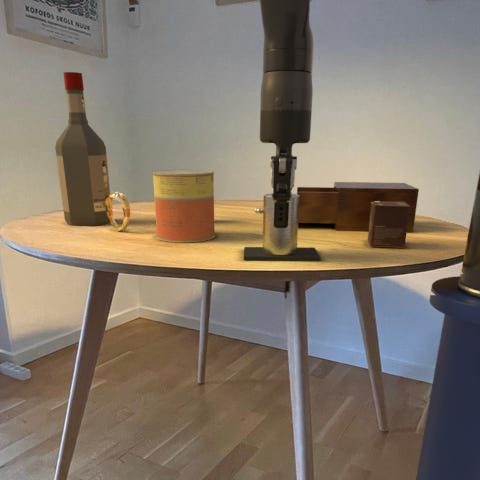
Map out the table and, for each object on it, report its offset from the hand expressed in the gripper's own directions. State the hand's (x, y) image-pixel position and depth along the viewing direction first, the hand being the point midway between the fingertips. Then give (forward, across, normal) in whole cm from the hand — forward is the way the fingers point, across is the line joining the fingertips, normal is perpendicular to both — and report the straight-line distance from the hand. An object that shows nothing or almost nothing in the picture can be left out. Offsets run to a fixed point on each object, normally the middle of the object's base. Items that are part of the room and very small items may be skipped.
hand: (281, 223), depth 75 cm
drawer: (+4, +31, -5) cm, 31 cm away
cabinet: (+5, +31, -18) cm, 36 cm away
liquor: (+5, +26, +44) cm, 52 cm away
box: (+5, +11, -19) cm, 22 cm away
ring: (+5, +17, +34) cm, 38 cm away
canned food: (+5, +13, +19) cm, 24 cm away
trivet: (+5, 0, 0) cm, 5 cm away
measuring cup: (+4, 0, 0) cm, 4 cm away
